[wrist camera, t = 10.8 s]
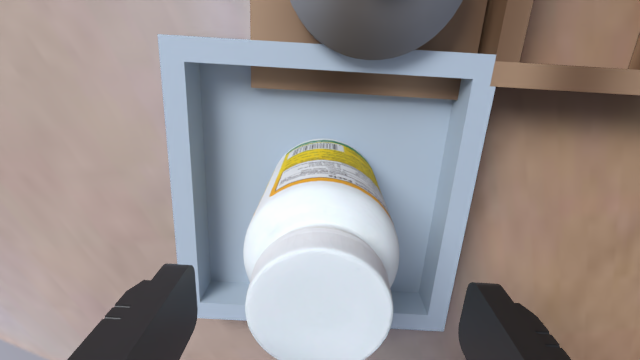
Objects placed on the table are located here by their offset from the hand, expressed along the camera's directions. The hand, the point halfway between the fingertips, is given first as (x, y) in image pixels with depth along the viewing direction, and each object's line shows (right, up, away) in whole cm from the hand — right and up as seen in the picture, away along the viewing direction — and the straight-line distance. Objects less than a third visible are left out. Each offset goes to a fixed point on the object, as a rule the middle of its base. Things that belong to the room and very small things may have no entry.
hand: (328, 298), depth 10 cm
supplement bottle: (0, +3, +8) cm, 9 cm away
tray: (0, +3, +9) cm, 9 cm away
